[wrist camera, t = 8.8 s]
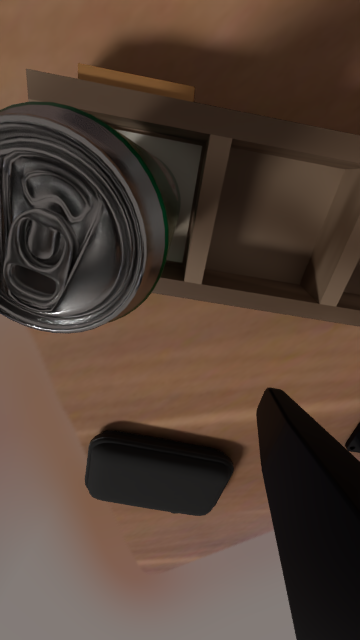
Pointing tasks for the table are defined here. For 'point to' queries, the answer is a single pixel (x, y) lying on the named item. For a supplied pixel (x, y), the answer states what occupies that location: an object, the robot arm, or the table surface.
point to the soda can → (78, 219)
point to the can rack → (239, 194)
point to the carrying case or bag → (156, 473)
